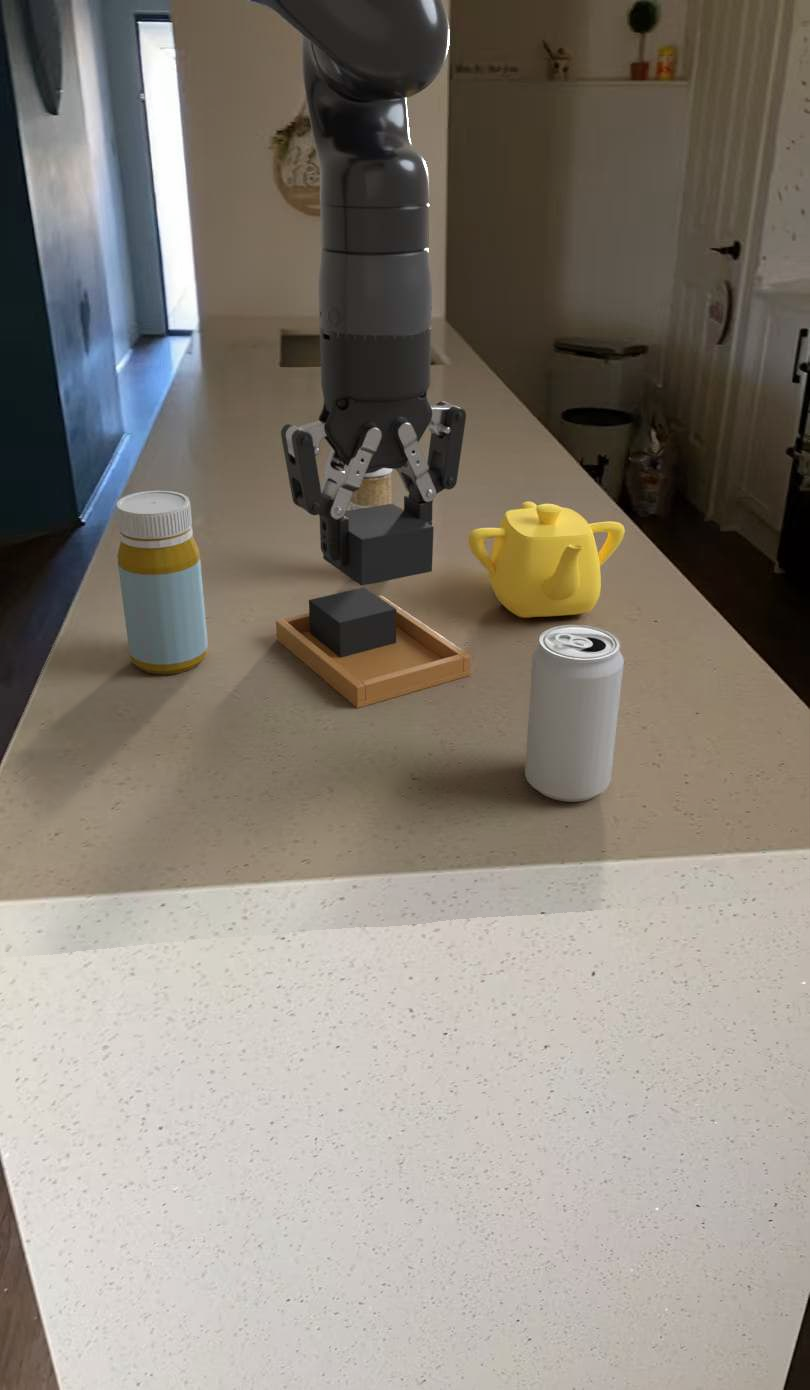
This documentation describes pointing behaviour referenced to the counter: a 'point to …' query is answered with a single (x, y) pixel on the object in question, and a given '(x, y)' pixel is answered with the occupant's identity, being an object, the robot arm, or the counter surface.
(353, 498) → the sprinkles bottle
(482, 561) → the teapot
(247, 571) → the counter surface
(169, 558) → the bottle
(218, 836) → the counter surface
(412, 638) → the tray
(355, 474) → the robot arm
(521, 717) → the counter surface
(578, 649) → the beverage can
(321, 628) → the pad
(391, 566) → the pad
